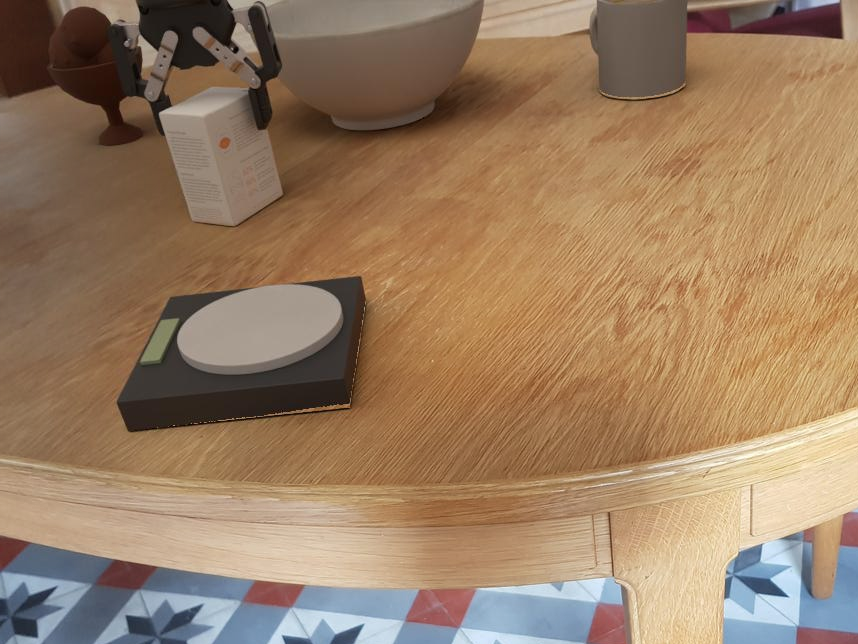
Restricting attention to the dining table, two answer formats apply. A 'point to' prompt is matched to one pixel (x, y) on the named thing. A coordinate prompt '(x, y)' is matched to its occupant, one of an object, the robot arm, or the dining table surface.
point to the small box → (221, 156)
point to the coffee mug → (640, 46)
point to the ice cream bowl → (91, 69)
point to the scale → (247, 354)
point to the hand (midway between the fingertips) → (218, 133)
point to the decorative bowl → (373, 55)
